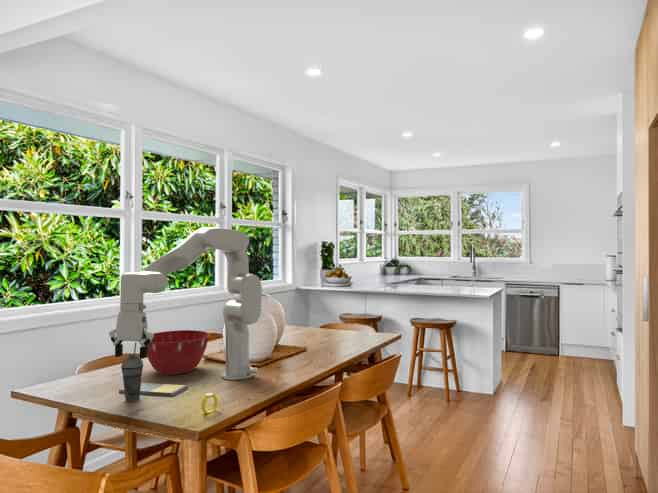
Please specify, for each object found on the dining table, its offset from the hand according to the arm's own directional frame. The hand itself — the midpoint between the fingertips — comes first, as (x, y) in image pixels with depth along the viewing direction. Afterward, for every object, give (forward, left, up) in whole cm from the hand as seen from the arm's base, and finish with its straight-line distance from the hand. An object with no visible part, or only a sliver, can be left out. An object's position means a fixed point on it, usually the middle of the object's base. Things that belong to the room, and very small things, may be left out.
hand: (131, 357), depth 172 cm
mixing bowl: (+7, -40, -15) cm, 44 cm away
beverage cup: (-1, 0, -15) cm, 15 cm away
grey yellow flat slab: (-1, -11, -15) cm, 19 cm away
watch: (-33, +7, -15) cm, 37 cm away
